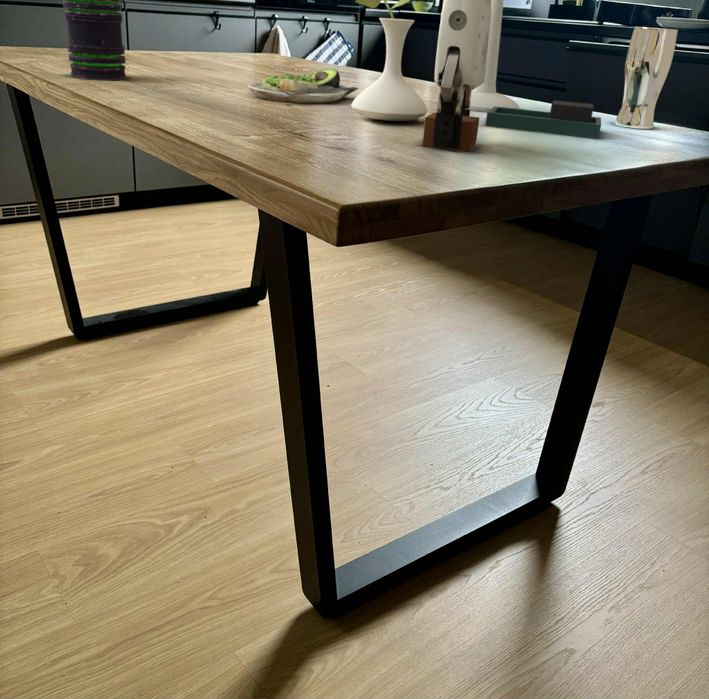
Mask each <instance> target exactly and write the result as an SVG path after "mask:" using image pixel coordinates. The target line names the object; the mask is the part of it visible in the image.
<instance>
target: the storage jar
mask: <svg viewBox="0 0 709 699" xmlns="http://www.w3.org/2000/svg"><path fill="white" fill-rule="evenodd" d="M121 2H122V1H121V0H62V6H63V8H65V9H64V10H63V11H64V12H63V13H64V14H63V15H64V19H65V21H66V26H67V36H68V43H67V52H69V53H68V54H67V55H68V56H67V57H68V61H69V62H72V63H69V67H70V77H72V78H76V79H81V80H82V79H83V80H93V81H95V80H96V81H97V80H98V81H117V80H118V81H119V80H125V79H126V78H127V74H126V66H125V65H124V64H126V56H125V52H126V50H125V46H124V44H123V34H122V33H123V32H122V23H123V13H121V12H123V6H122V4H120V3H121Z"/></svg>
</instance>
